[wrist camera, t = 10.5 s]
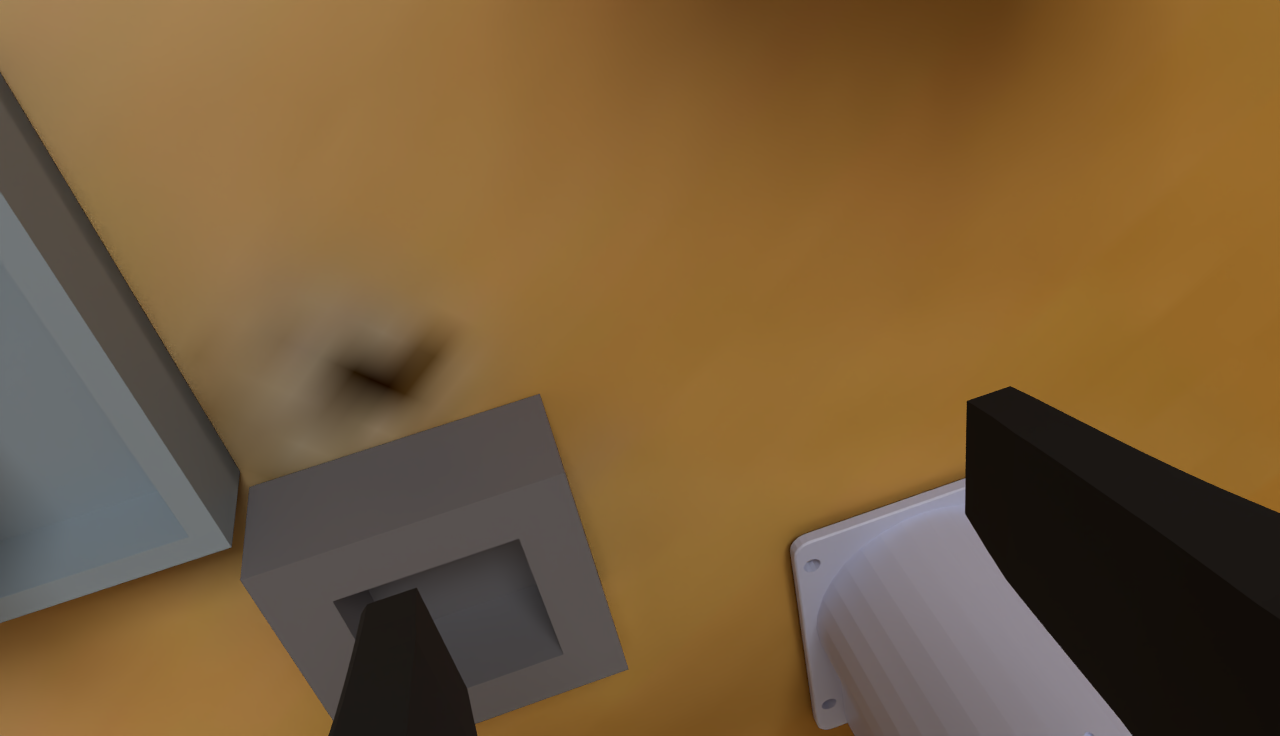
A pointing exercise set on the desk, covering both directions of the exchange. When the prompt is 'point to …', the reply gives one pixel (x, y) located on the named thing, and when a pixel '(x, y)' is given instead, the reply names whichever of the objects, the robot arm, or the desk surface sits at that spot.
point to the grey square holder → (439, 558)
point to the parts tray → (88, 407)
